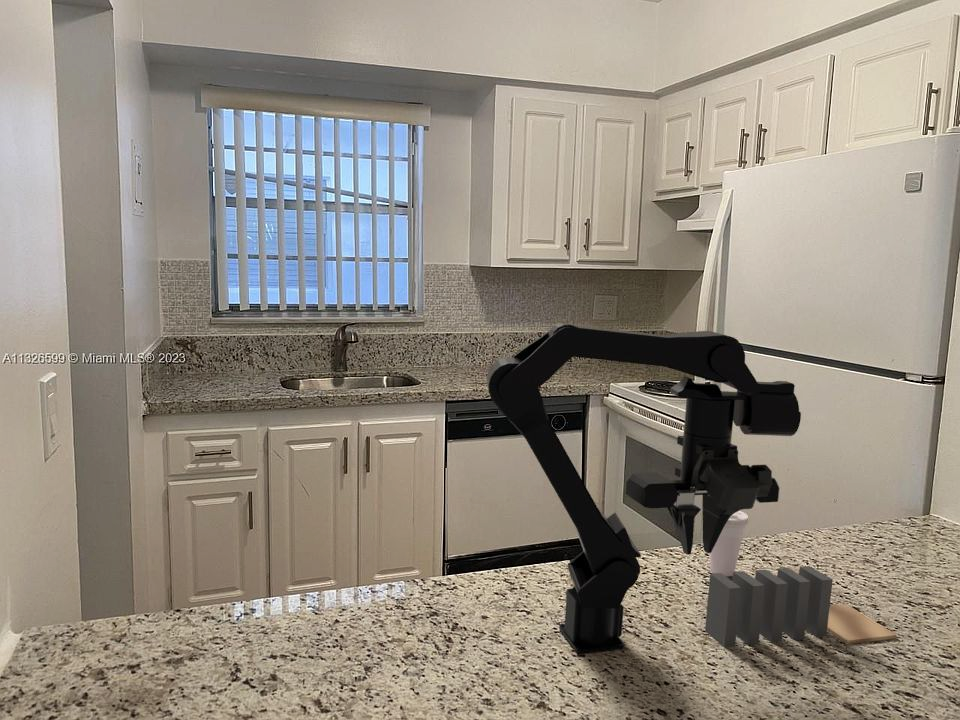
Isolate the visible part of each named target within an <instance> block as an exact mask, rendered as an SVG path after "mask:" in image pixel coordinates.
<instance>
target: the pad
mask: <svg viewBox="0 0 960 720" xmlns="http://www.w3.org/2000/svg"><path fill="white" fill-rule="evenodd" d="M827 633H830V634H831V635H832V634H833V636H834V637H835V638H837V639H838V638H839V639H838V640H840V641H841V642H843V643H844V644H846V645H851V644H858V643H859V644H860V643H868V642H869V643H870V642H877V641H886V640H895V639H897V634H896V633H894V632H893V631H891V630H889V629H887V628H886V627H884V626H883V625H881V624H880V623H878V622H876V621H875V620H873V619H871V618H869V617H868V616H866V615H865V614H863V613H861V612H860V611H858V610H857V609H855V608H853V607H852V606H850V605H849V604H847V603H845V604H835V605H830V608H829V617H828V626H827Z"/></svg>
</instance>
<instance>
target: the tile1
mask: <svg viewBox="0 0 960 720" xmlns="http://www.w3.org/2000/svg"><path fill="white" fill-rule="evenodd" d="M708 584H709V585H708V594H707V606H706V616H705V617H706V618H705V627H704V631H705V632H706V633H707V634H708V635H709V636H711V638H713V640H715V641H716V642H717V643H718V644H719V645H721V646H722V647H723V648H724V649H726V648H735V647H736V643H737V636H736V633H737V622H738V612H739V601H740V591H741V587H739V586H738V585H737V584H735V583H734V582H733V581H732V579H730V578H728V576H724V575H723V574H721V573H710V574H709V583H708Z"/></svg>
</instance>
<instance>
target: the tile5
mask: <svg viewBox="0 0 960 720" xmlns="http://www.w3.org/2000/svg"><path fill="white" fill-rule="evenodd" d="M798 571H799V572H798V574H799V575H801V576H802V577H804V578H806V579H807V580H809V581H810V590H809V599H808V608H807V618H806V627H805V631H806V630H807V632H808V633H809V632H810V633H811V636H813V635H814V636H813V637H815V638H825V637H824V636H826V637H827V634H828V631H827V626H828V617H829V608H830V606H831V599H832V598H831V597H832V590H833V589H832V588H833V582H834V581H833V578H830V577H829V576H827V575H826V574H824V573H822V572H820V570H817V569H815V568H814V567H812V566H811V565H806V566H804V565H803V566H799V570H798ZM810 633H809V634H810Z"/></svg>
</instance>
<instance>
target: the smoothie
mask: <svg viewBox="0 0 960 720" xmlns="http://www.w3.org/2000/svg"><path fill="white" fill-rule="evenodd" d="M748 524H749V516H748V514H747V513H745V512H743V511H742V510H739V511H738V512H736V513H734V514H733V515H731V516H730V518H729V520H728V521H727V523H726V524H725V526H724V528H723V530H722V532H721V534H720V536H719V538H718V540H717V542H716V544H715V546H714V548H713V550H712V552H711V553H709V571H710V572H711V574H714V573H721V574H723V575H724V576H726V577H733V576H732V575H733V572H736V567H737V564H738V559H739V555H740V550H741V546H742V541H743V537H744V534H745V528H746V525H748Z"/></svg>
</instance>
